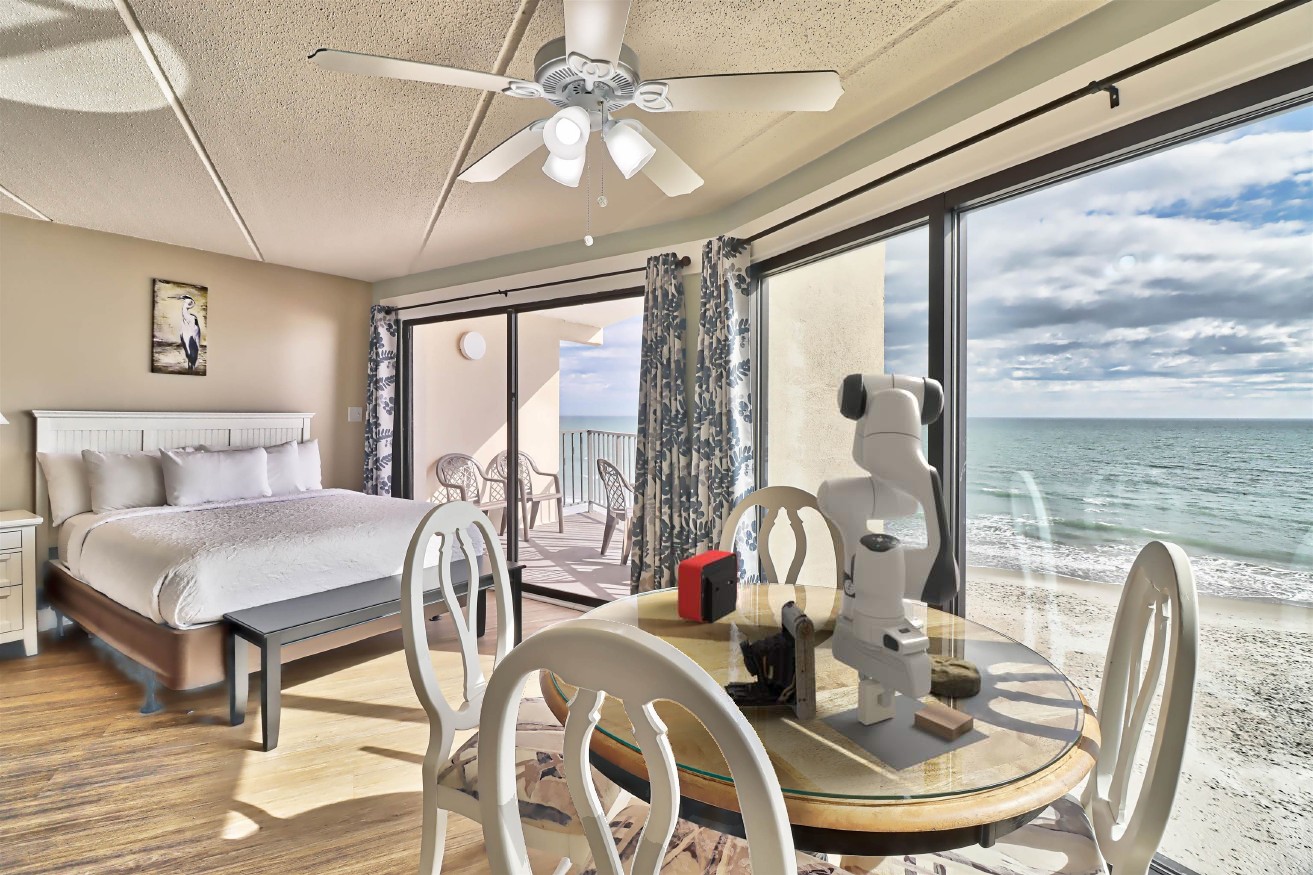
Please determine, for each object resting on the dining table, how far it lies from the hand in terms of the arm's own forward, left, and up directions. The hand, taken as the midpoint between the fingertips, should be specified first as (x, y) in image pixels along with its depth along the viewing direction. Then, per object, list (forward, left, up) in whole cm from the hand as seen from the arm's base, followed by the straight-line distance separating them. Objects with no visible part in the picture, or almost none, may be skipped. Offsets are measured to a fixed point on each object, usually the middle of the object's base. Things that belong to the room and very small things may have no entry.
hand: (876, 701), depth 113 cm
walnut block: (-9, +7, -3) cm, 12 cm away
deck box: (0, 0, -3) cm, 3 cm away
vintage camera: (+15, -12, -4) cm, 20 cm away
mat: (-2, +4, -4) cm, 6 cm away
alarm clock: (-5, -64, -4) cm, 64 cm away
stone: (-24, -5, -4) cm, 25 cm away
